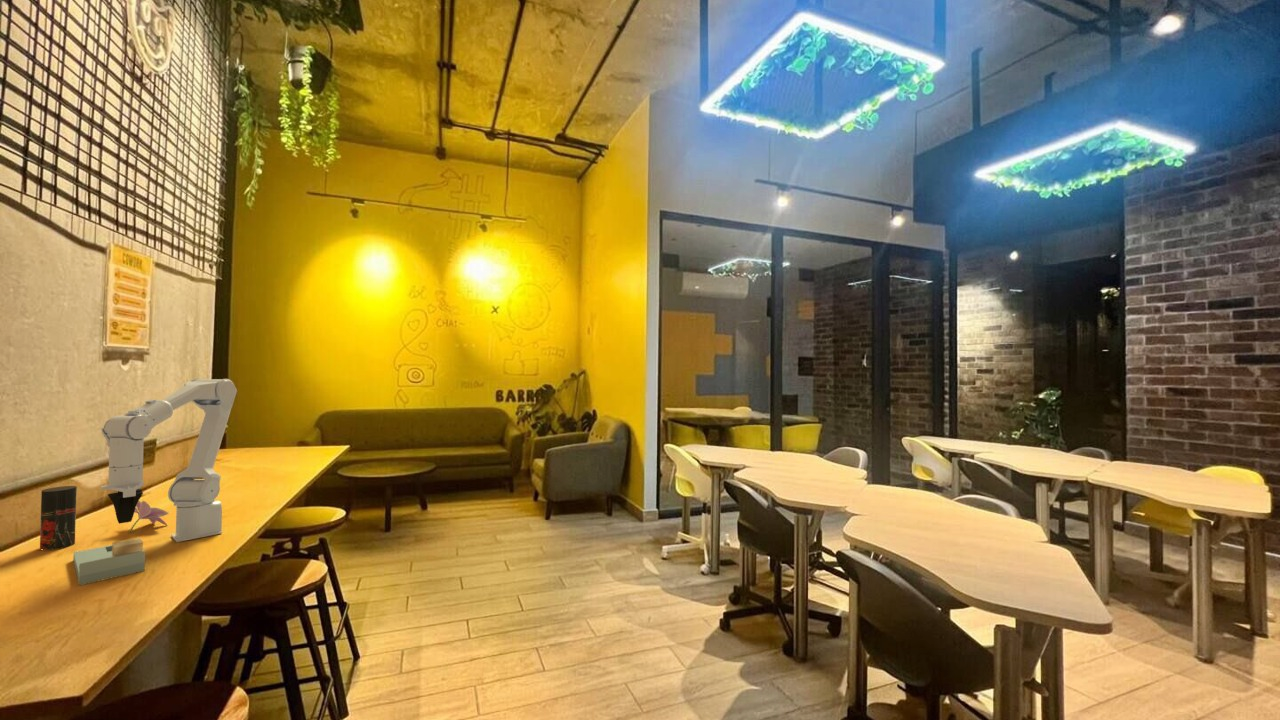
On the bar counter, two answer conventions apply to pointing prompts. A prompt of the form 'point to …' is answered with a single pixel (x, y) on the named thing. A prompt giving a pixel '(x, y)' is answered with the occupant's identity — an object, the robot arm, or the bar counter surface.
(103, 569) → the board
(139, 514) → the lily
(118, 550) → the beech block
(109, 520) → the bar counter surface
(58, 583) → the bar counter surface
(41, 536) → the deodorant
